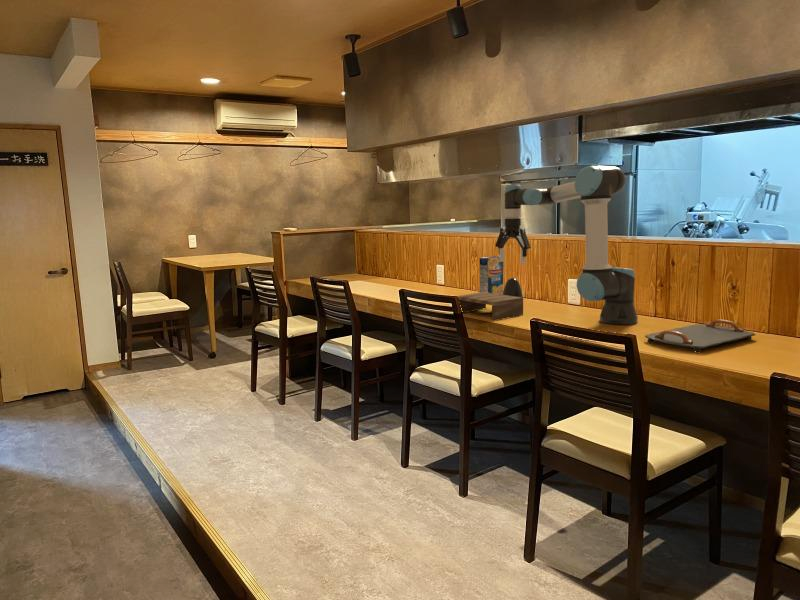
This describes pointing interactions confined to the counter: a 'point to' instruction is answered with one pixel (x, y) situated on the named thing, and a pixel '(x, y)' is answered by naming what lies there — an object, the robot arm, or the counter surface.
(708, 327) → the serving board
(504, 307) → the walnut shelf
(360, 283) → the counter surface
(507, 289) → the black rounded dome
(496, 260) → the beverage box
